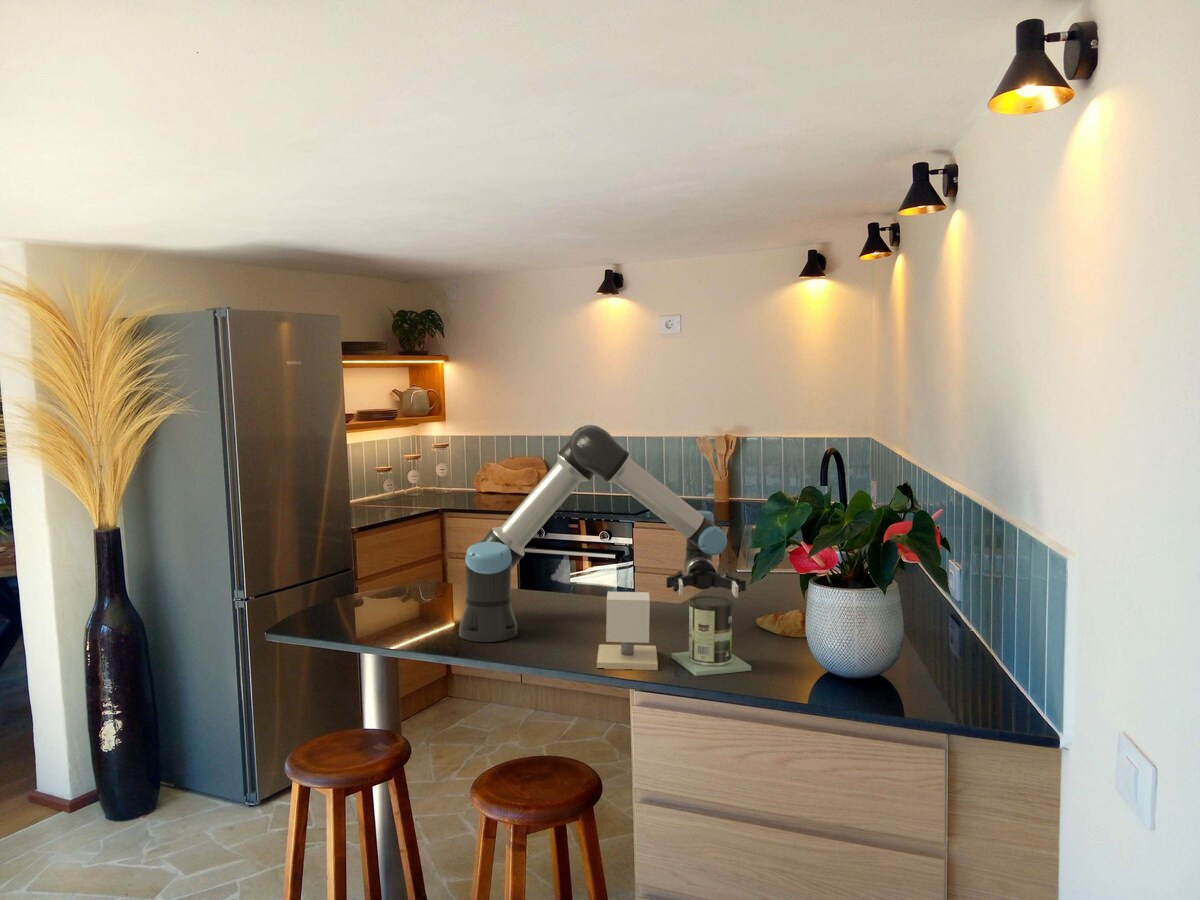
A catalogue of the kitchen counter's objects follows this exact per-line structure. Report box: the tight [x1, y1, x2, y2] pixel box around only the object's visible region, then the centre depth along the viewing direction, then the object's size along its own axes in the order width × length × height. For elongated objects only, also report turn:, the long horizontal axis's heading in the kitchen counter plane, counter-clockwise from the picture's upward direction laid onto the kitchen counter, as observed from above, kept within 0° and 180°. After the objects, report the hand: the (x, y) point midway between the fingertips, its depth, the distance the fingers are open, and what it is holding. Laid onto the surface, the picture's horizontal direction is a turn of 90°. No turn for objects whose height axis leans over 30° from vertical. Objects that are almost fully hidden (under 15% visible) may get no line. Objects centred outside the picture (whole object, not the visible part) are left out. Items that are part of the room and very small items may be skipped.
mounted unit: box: [596, 591, 659, 671], centre depth 197 cm, size 14×14×16 cm
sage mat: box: [671, 651, 752, 677], centre depth 196 cm, size 14×14×1 cm
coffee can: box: [688, 595, 734, 666], centre depth 195 cm, size 10×10×14 cm
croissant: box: [755, 609, 807, 638], centre depth 222 cm, size 21×10×8 cm, turn 58°
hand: (709, 591), depth 204 cm, fingers open, 13 cm apart
